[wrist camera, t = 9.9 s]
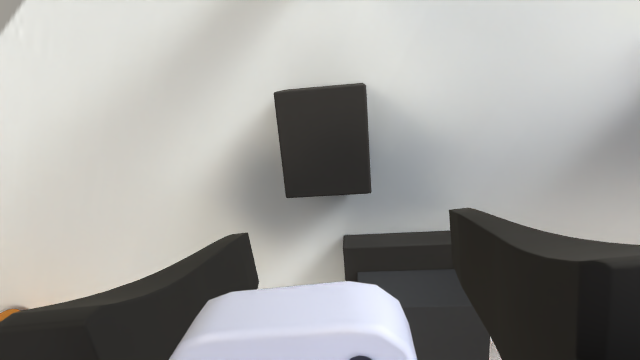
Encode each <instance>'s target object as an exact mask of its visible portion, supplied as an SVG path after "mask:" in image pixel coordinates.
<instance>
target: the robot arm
mask: <svg viewBox="0 0 640 360" xmlns="http://www.w3.org/2000/svg"><path fill="white" fill-rule="evenodd" d="M449 216H450V232H451V248H452V263H453V266H454V269H455V271H456V274H457V277H458V279H459V281H460V284H461V286H462V288H463V290H464V292H465V293H466V295H467V297H468V299H469V300H470V302H471V304H472V306H473V307H474V309H475V311H476V313H477V314H478V316H479V318H480V319H481V321H482V323H483V325H484V326H485V328H486V330H487V331H488V333H489V335H490V337H491V338H492V340H493V342H494V344H495V346H496V348H497V350H498V352H499V354H500V356H501V359H502V360H640V245H630V244H618V243H608V242H600V241H592V240H585V239H579V238H573V237H567V236H563V235H558V234H553V233H548V232H544V231H540V230H537V229H533V228H530V227H526V226H523V225H520V224H517V223H513V222H510V221H507V220H505V219H502V218H499V217H496V216H493V215H490V214H488V213H485V212H482V211H479V210H476V209H472V208H461V209H453V210H449ZM258 284H259V280H258V275H257V271H256V267H255V262H254V258H253V253H252V249H251V245H250V240H249V236H248V233H240V234H232V235H229V236H226V237H224V238H222V239H220V240H218V241H216V242H214V243H212V244H210V245H208V246H207V247H205V248H203V249H201V250H200V251H198V252H196V253H194V254H192V255H191V256H189V257H187V258H185V259H183V260H181V261H179V262H177V263H175V264H173V265H171V266H169V267H167V268H165V269H163V270H161V271H159V272H157V273H154V274H152V275H149V276H147V277H145V278H142V279H140V280H137V281H135V282H132V283H129V284H126V285H123V286H120V287H117V288H114V289H111V290H109V291H105V292H102V293H98V294H95V295H92V296H88V297H84V298H80V299H76V300H72V301H68V302H64V303H59V304H54V305H49V306H44V307H39V308H34V309H29V310H23V311H18V312H15V313H12V314H11V315H9V316H8V317H7V318H5V319H4V320H2V321H1V322H0V360H417V356H416V352H415V348H414V344H413V340H412V335H411V331H410V327H409V323H408V321H407V318H406V316H405V314H404V312H403V309H402V307H401V305H400V302H399V301H398V300H397V299H396V298H394V297H393V296H391V295H390V294H388V293H387V292H386V291H384V290H383V289H381V288H380V287H378V286H377V285H373V284H366V283H359V282H351V281H342V282H331V283H321V284H310V285H299V286H288V287H277V288H267V289H257V288H258Z"/></svg>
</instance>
